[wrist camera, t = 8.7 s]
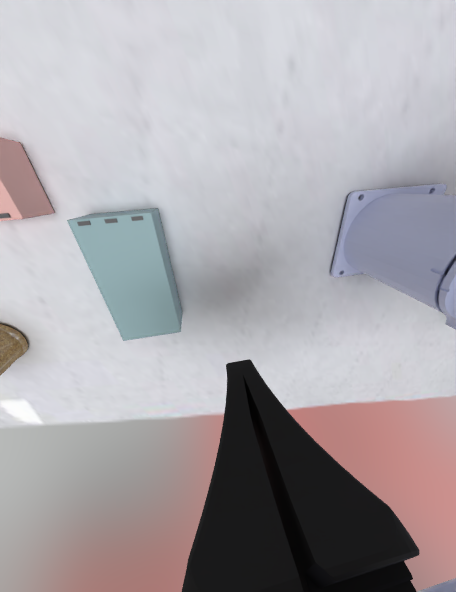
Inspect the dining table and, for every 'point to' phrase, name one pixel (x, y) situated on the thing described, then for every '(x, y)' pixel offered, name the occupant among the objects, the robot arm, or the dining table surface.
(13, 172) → the stub
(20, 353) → the sprinkles bottle
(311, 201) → the dining table surface
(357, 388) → the dining table surface
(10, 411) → the dining table surface
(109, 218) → the teal elongated prism
